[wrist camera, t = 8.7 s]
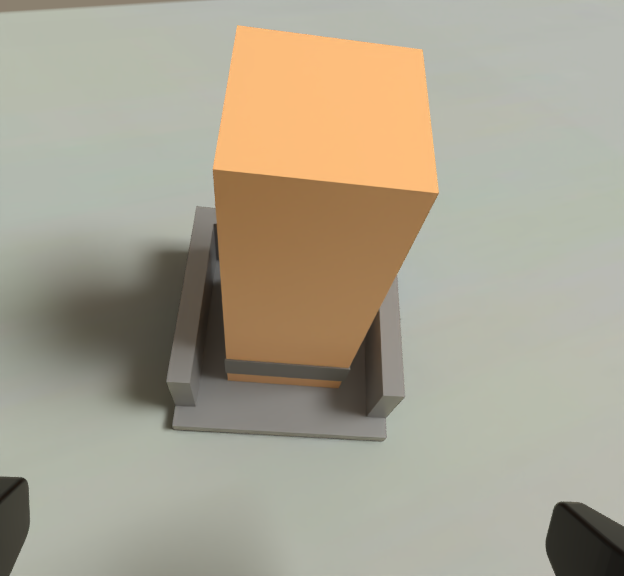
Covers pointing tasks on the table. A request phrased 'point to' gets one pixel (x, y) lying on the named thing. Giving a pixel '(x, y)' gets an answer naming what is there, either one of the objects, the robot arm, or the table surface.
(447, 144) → the table surface
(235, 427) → the holder
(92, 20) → the table surface
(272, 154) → the plug
